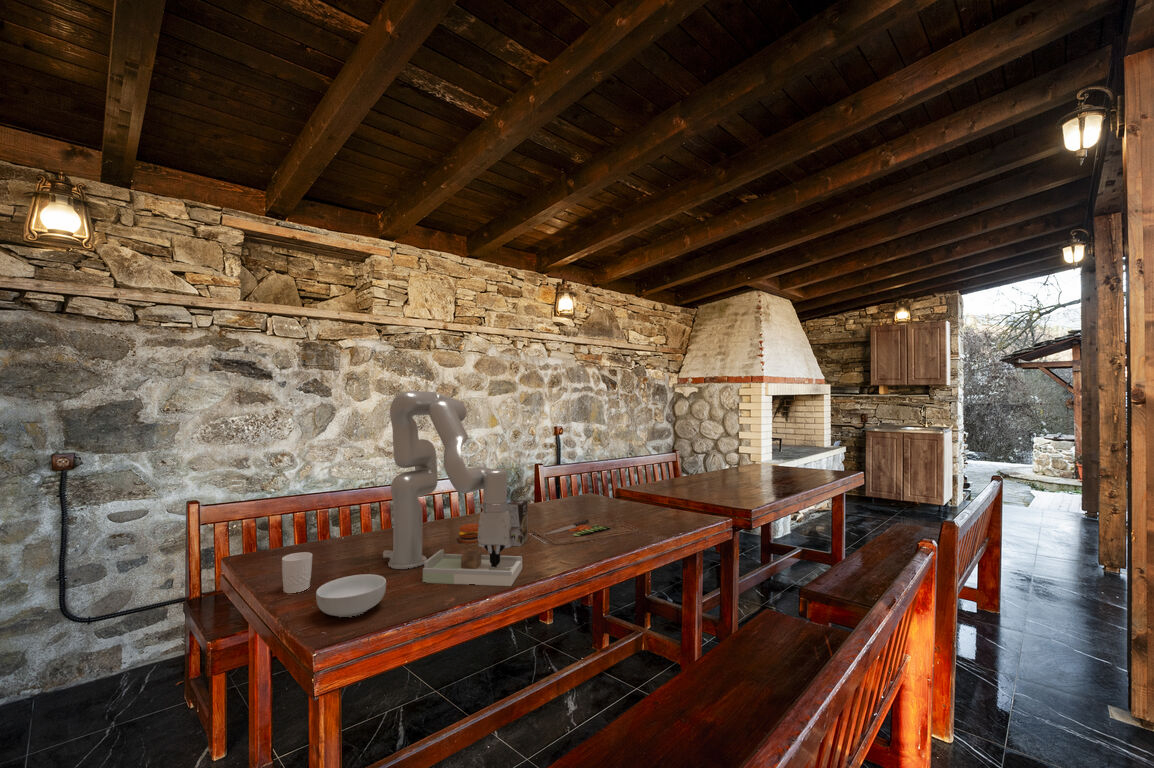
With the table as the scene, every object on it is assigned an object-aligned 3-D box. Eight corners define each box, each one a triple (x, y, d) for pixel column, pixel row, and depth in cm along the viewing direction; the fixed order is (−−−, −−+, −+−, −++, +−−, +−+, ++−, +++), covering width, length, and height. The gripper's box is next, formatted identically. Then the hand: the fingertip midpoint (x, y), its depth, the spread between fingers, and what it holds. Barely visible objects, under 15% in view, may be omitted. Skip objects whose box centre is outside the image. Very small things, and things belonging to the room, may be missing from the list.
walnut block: (461, 568, 151) (461, 555, 151) (466, 563, 156) (466, 550, 156) (476, 569, 150) (476, 556, 150) (481, 563, 155) (481, 551, 155)
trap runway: (422, 582, 147) (422, 563, 147) (441, 566, 162) (442, 548, 162) (510, 586, 144) (510, 566, 144) (522, 569, 159) (522, 550, 159)
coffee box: (521, 546, 184) (521, 504, 185) (505, 545, 185) (505, 504, 186) (528, 540, 193) (528, 500, 194) (513, 539, 194) (513, 499, 195)
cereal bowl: (372, 593, 139) (373, 569, 139) (395, 611, 127) (396, 584, 127) (307, 611, 127) (308, 584, 127) (326, 632, 115) (326, 603, 115)
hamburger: (459, 544, 187) (459, 527, 188) (458, 538, 196) (458, 522, 197) (483, 542, 190) (483, 525, 190) (481, 536, 199) (481, 520, 200)
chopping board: (550, 549, 182) (550, 540, 183) (523, 532, 206) (523, 525, 206) (645, 533, 204) (644, 526, 204) (611, 520, 227) (611, 513, 228)
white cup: (289, 597, 136) (290, 562, 137) (275, 592, 140) (276, 557, 141) (317, 588, 143) (317, 554, 143) (303, 583, 147) (303, 550, 147)
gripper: (468, 509, 150) (468, 568, 149) (514, 510, 148) (514, 570, 148) (476, 504, 158) (476, 560, 157) (520, 505, 156) (520, 562, 155)
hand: (494, 565), depth 152 cm, fingers closed
